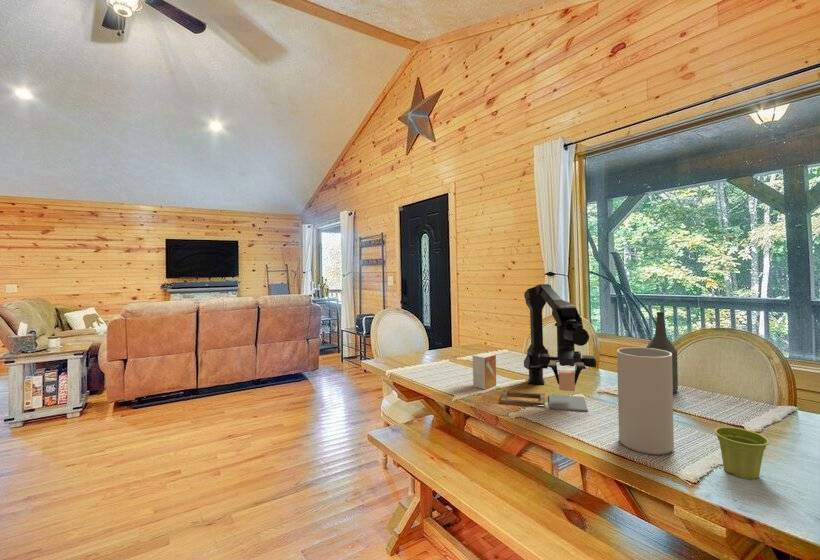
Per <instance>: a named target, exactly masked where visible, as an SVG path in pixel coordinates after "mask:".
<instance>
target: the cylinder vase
mask: <svg viewBox="0 0 820 560" xmlns="http://www.w3.org/2000/svg"><path fill="white" fill-rule="evenodd" d="M616 355H617V356H616V358H617V359H616V360H617V366H616V367H617V401H618V405H617V407H618V409H617V412H618V440H619V441H620V443H621V444H622V445H624V447H626V448H628V449H630V450H633V451H635V452H638V453H641V454H647V455H666V454H669V453H672V452H673V450H674V449H675V446H674V445H675V444H674V443H675V442H674V437H675V436H674V435H675V433H674V393H673V378H672V353H670V352H668V351H664V350H659V349H652V348H646V347H620V348H618V349H617V350H616Z"/></svg>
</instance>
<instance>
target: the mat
mask: <svg viewBox="0 0 820 560" xmlns="http://www.w3.org/2000/svg"><path fill="white" fill-rule="evenodd" d="M548 403H549V405H548V406H549V408H554V409H553V410H558V409H562V410H561V411H573V412H583V413H584V412H585V413H588V412H589V409H588V407H587V403H586V399H585V396H578V395H576V396H575V395H565V394H564V395H563V394H548Z"/></svg>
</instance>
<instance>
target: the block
mask: <svg viewBox="0 0 820 560" xmlns="http://www.w3.org/2000/svg"><path fill="white" fill-rule="evenodd" d="M558 376H559V384H558V389H559V390H558V391H567V392H575V391H576V385H575V369H574V370H573V369H571V370H570V369H558Z"/></svg>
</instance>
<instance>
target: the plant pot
mask: <svg viewBox="0 0 820 560" xmlns="http://www.w3.org/2000/svg"><path fill="white" fill-rule="evenodd" d="M714 433H715V434H716V437H717V440H718V441H719V447H720V453H721V459H722V463H723V466H722V467H723V469H724V470H725V471H726V473H728V474H732V475H734V476H735V477H737V478H742V479H747V480H754V479H756V478H757V479H758V478H759V477H760V473H761V467H762V463H763V456H764V453H765V452H764V451H765V450H766V449H767V446H769V444H770V440H769V439H768V438H767V437H766V436H764V435H762V434H760V433H757V432H755V431H751V430H747V429H744V428H739V427H738V428H737V427H731V426H720V427H717V428H715V429H714Z"/></svg>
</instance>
